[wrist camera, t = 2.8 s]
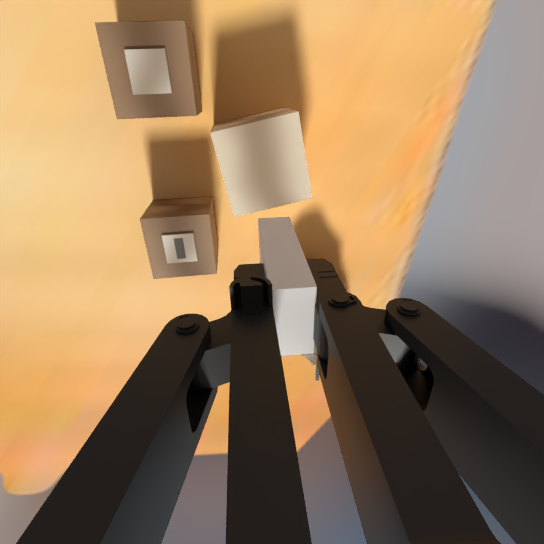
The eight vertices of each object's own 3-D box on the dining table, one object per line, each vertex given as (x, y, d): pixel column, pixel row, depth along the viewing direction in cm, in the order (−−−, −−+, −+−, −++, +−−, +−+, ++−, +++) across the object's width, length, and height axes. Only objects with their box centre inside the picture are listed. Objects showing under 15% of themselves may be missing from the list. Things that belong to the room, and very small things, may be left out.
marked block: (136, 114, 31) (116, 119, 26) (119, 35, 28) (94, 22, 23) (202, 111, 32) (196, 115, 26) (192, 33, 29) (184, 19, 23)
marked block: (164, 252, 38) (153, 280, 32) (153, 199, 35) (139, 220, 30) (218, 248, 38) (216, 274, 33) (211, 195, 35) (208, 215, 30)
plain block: (232, 195, 36) (233, 217, 30) (213, 124, 32) (210, 132, 26) (297, 179, 36) (312, 198, 30) (285, 107, 32) (298, 111, 26)
